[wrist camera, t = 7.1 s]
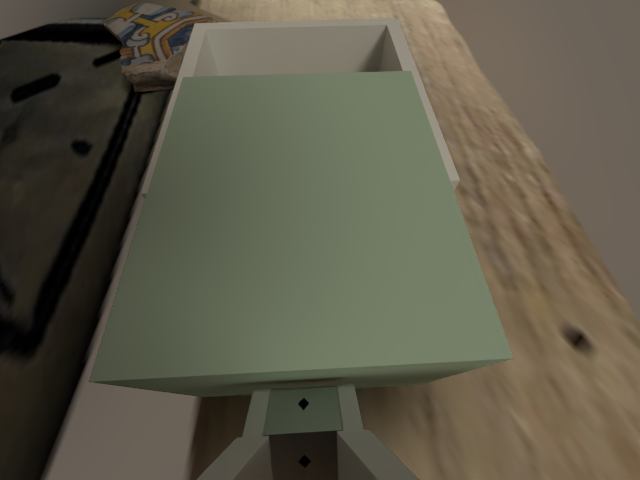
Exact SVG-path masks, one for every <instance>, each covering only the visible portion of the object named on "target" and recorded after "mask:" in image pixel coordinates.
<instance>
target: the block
mask: <svg viewBox="0 0 640 480" xmlns="http://www.w3.org/2000/svg"><path fill="white" fill-rule="evenodd" d="M510 359H513V356H512V353H511V350H510V347H509V344H508V342H507V339H506V336H505V333H504V330H503V328H502V325H501V322H500V319H499V316H498V314H497V311H496V308H495V305H494V302H493V300H492V297H491V294H490V291H489V288H488V285H487V283H486V280H485V277H484V274H483V271H482V269H481V266H480V263H479V260H478V257H477V255H476V252H475V249H474V246H473V243H472V241H471V238H470V235H469V232H468V229H467V227H466V224H465V221H464V218H463V215H462V213H461V210H460V207H459V204H458V201H457V199H456V196H455V193H454V190H453V187H452V185H451V182H450V179H449V176H448V173H447V170H446V168H445V165H444V162H443V159H442V156H441V154H440V151H439V148H438V145H437V142H436V140H435V137H434V134H433V131H432V128H431V126H430V123H429V120H428V117H427V114H426V112H425V109H424V106H423V103H422V100H421V98H420V95H419V92H418V89H417V86H416V84H415V81H414V78H413V75H412V72H411V71H384V72H348V73H311V74H274V75H237V76H201V77H183V79H182V82H181V85H180V88H179V92H178V95H177V98H176V101H175V105H174V108H173V111H172V114H171V118H170V121H169V124H168V127H167V131H166V134H165V137H164V140H163V144H162V147H161V150H160V153H159V156H158V160H157V163H156V166H155V169H154V173H153V176H152V179H151V182H150V186H149V189H148V192H147V195H146V199H145V202H144V205H143V209H142V211H141V215H140V218H139V221H138V224H137V228H136V231H135V234H134V237H133V241H132V244H131V247H130V251H129V254H128V257H127V260H126V263H125V267H124V270H123V273H122V276H121V279H120V283H119V286H118V289H117V292H116V296H115V299H114V302H113V305H112V309H111V312H110V315H109V319H108V322H107V325H106V328H105V332H104V335H103V338H102V341H101V344H100V348H99V351H98V354H97V357H96V360H95V364H94V367H93V370H92V373H91V377H90V380H89V382H95V383H103V384H109V385H117V386H124V387H132V388H139V389H147V390H154V391H162V392H170V393H177V394H184V395H192V396H199V397H217V396H234V395H252V393H253V392H254V390H255V389H275V388H305V387H320V386H337V385H344V384H353V385H354V386H355V389H357V388H374V387H392V386H409V385H420V384H423V383H427V382H431V381H434V380H438V379H441V378H445V377H449V376H452V375H456V374H459V373H463V372H467V371H470V370H474V369H477V368H481V367H484V366H488V365H492V364H495V363H499V362H502V361H506V360H510Z"/></svg>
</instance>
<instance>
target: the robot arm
mask: <svg viewBox="0 0 640 480" xmlns="http://www.w3.org/2000/svg"><path fill="white" fill-rule="evenodd" d="M196 480H419V479H418V478H417V477H416V476H415V475H414V474H413V473H412V472H411V471H410V470H409V469H408V468H407V467H406V466H405V465H404V464H403V463H402V462H401V461H400V460H399V459H398V458H397V457H396V456H395V455H394V454H393V453H392V452H391V451H390V450H389V449H388V448H387V447H386V446H385V445H384V444H383V443H382V442H381V441H380V440H379V439H378V438H377V437H376V436H375V435H374V434H373V433H372V432H371V431H370V430H364V429H363V424H362V419H361V415H360V410H359V405H358V401H357V396H356V391H355V386H354V385H353V384H344V385H337V386H320V387H305V388H275V389H255V390H254V392H253V393H252V397H251V401H250V406H249V410H248V414H247V418H246V422H245V426H244V430H243V434H242V437H240V438H236V439H235V440H234V441H233V442H232V443H231V444H230V445H229V446H228V447H227V448H226V449H225V450H224V451H223V452H222V453H221V454H220V455H219V456H218V457H217V459H216V460H215V461H214V462H213V463H212V464H211V465H210V466H209V467H208V468H207V469H206V470H205V471H204V472H203V473H202V474H201V475H200V476H199V477H198V478H197V479H196Z"/></svg>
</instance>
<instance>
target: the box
mask: <svg viewBox="0 0 640 480" xmlns="http://www.w3.org/2000/svg"><path fill="white" fill-rule="evenodd" d="M384 71H411V72H412V75H413V78H414V81H415V84H416V86H417V89H418V92H419V95H420V98H421V100H422V103H423V106H424V109H425V112H426V114H427V117H428V120H429V123H430V126H431V128H432V131H433V134H434V137H435V140H436V142H437V145H438V148H439V151H440V154H441V156H442V159H443V162H444V165H445V168H446V170H447V173H448V176H449V179H450V182H451V185H452V187H453V190H454V189H455V187H456V186H457V184H458V182H459V181H460V179H459V177H458V174H457V171H456V169H455V166H454V164H453V161H452V158H451V156H450V153H449V151H448V148H447V146H446V143H445V140H444V138H443V135H442V133H441V130H440V127H439V125H438V122H437V120H436V117H435V114H434V112H433V109H432V107H431V104H430V101H429V99H428V96H427V94H426V91H425V88H424V86H423V83H422V81H421V78H420V76H419V73H418V70H417V68H416V65H415V63H414V60H413V57H412V55H411V52H410V50H409V47H408V44H407V42H406V39H405V37H404V34H403V31H402V29H401V26H400V24H399V21H398V18H384V19H344V20H304V21H264V22H227V23H226V22H225V23H195V24H194V27H193V30H192V33H191V37H190V40H189V43H188V46H187V49H186V52H185V55H184V59H183V62H182V65H181V68H180V71H179V74H178V77H177V81H176V84H175V87H174V90H173V93H172V96H171V100H170V103H169V106H168V109H167V112H166V115H165V118H164V122H163V125H162V128H161V131H160V134H159V137H158V140H157V144H156V147H155V150H154V153H153V156H152V159H151V163H150V166H149V169H148V172H147V175H146V178H145V181H144V185H143V188H142V191H141V195H142V196H143V197H144V198H145V199H146V195H147V192H148V189H149V186H150V182H151V179H152V176H153V173H154V169H155V166H156V163H157V160H158V156H159V153H160V150H161V147H162V144H163V140H164V137H165V134H166V131H167V127H168V124H169V121H170V118H171V114H172V111H173V108H174V105H175V101H176V98H177V95H178V92H179V88H180V85H181V82H182V79H183V77H201V76H237V75H274V74H311V73H348V72H384Z"/></svg>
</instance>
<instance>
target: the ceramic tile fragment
mask: <svg viewBox="0 0 640 480" xmlns="http://www.w3.org/2000/svg"><path fill="white" fill-rule="evenodd" d="M103 23H104V25H105V27H106V28H107V29H108V30H109V31H110V32H111V33H112V34H113V35H114V36H115V37H116V38H117V39H118V40H119V41H120V42H121V43H122V44H123V46H122V48H121V50H120V54H121V58H119V64H120V65H118V64H117V65H118V66H119V67H121V69H122V71H121V73H123V74H124V75H125V77H126V79H127V80H128V81H129V82H130V83H131V84H132V85H134V91H135V92H146V91H159V90H167V89H172V90H174V87H175V84H176V81H177V77H178V74H179V71H180V68H181V65H182V62H183V59H184V55H185V52H186V49H187V46H188V43H189V40H190V37H191V33H192V30H193V27H194V24H195V23H218V22H217V21H215V20H214V19H212V18H210V17H209V16H207V15H202V14H200V13H197V12H191V11H184V10H179V9H176V8H167V7H163V6H159V5H156V4H148V3H134V4H133V5H130V6H128V7H127V8H124V9H122V10H120V11H119V12H117V13H116V14H115V15H114V16H113V17H110V18H108V19H106V20H104V21H103Z"/></svg>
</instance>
